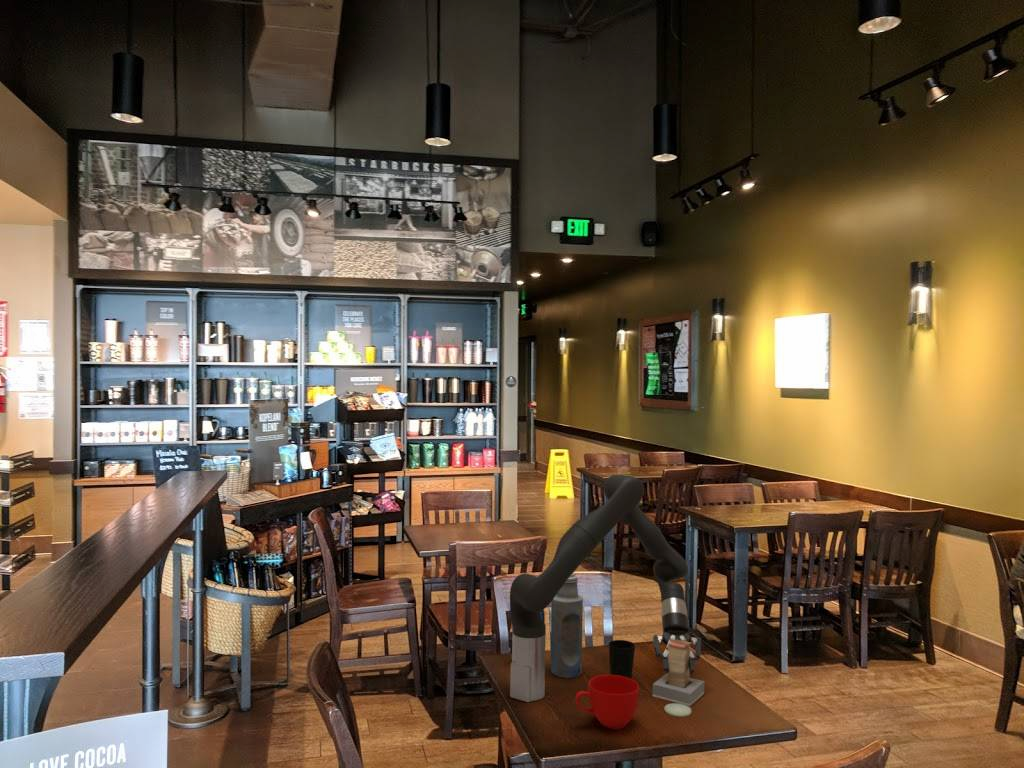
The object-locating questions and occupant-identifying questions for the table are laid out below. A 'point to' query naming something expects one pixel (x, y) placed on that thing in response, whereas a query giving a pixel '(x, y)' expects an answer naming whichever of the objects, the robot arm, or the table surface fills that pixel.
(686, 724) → the table surface
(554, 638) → the bottle
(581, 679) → the table surface
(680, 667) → the plug
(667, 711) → the pad
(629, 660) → the cup
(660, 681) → the socket block
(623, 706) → the ceramic cup
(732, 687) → the table surface
